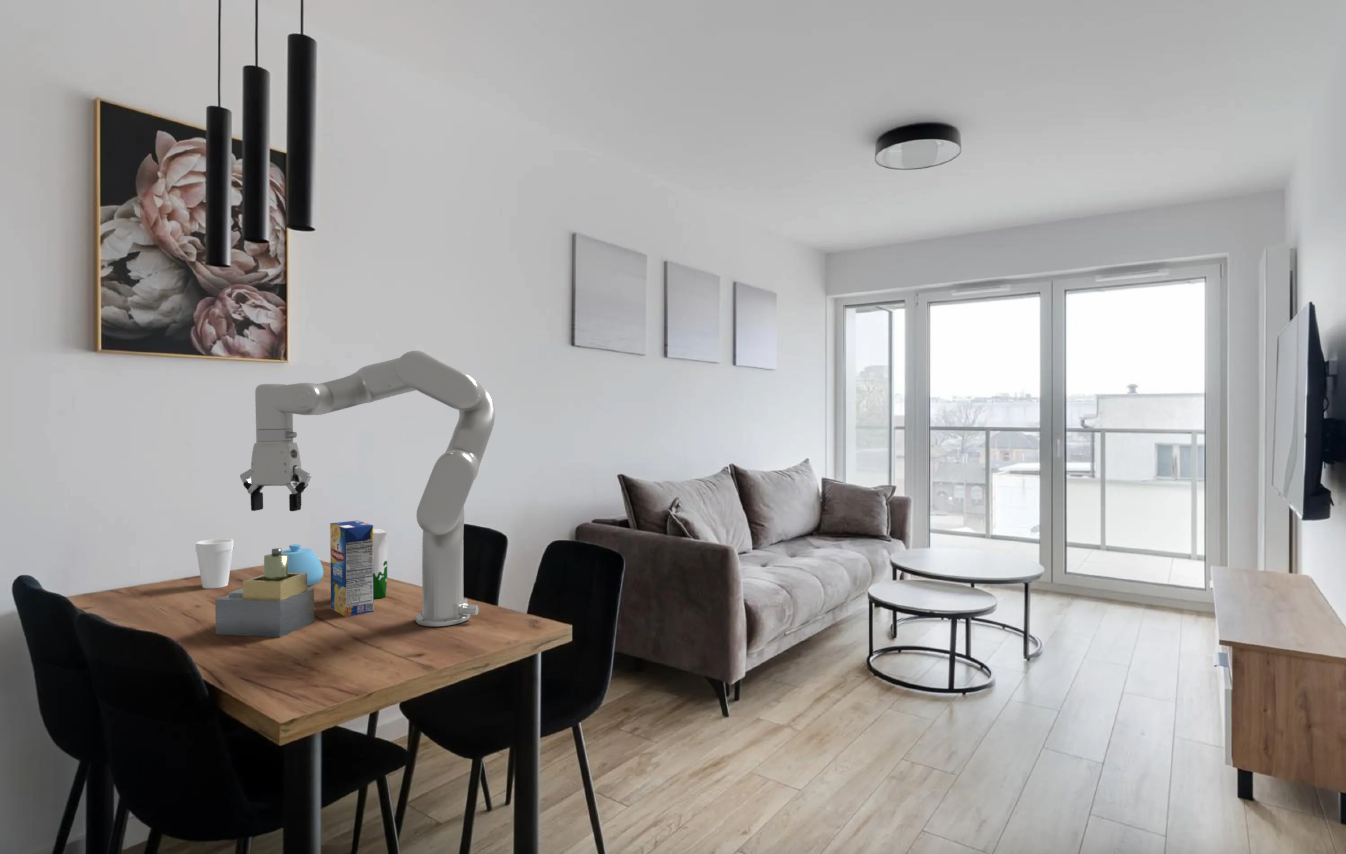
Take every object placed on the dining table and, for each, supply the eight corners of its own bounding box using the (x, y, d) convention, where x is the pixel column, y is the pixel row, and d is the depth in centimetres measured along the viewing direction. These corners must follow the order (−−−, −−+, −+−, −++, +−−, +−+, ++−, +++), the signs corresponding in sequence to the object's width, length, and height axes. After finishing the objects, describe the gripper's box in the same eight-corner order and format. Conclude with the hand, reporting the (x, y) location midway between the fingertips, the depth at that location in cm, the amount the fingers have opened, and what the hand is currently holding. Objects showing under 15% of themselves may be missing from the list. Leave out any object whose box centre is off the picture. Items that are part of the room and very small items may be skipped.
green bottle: (292, 591, 168) (293, 547, 168) (278, 596, 163) (279, 551, 163) (272, 590, 169) (273, 546, 169) (258, 595, 164) (259, 550, 164)
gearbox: (314, 621, 171) (313, 572, 171) (280, 637, 160) (279, 584, 159) (253, 619, 174) (253, 570, 173) (215, 634, 162) (215, 581, 161)
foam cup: (207, 582, 211) (206, 538, 211) (240, 581, 212) (239, 538, 212) (189, 590, 202) (188, 544, 201) (223, 589, 203) (223, 544, 202)
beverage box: (345, 616, 176) (345, 528, 175) (330, 608, 184) (330, 523, 183) (373, 611, 180) (373, 525, 180) (358, 603, 188) (357, 520, 188)
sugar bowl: (261, 591, 200) (261, 551, 200) (270, 580, 214) (270, 541, 214) (320, 587, 206) (320, 547, 205) (325, 576, 220) (325, 538, 219)
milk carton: (348, 595, 196) (348, 523, 196) (383, 590, 201) (382, 520, 201) (354, 602, 189) (354, 527, 189) (390, 597, 194) (390, 524, 194)
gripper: (319, 436, 168) (320, 508, 168) (252, 436, 170) (253, 507, 171) (298, 437, 161) (299, 513, 161) (228, 437, 163) (230, 512, 163)
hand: (276, 510), depth 166 cm, fingers open, 9 cm apart
